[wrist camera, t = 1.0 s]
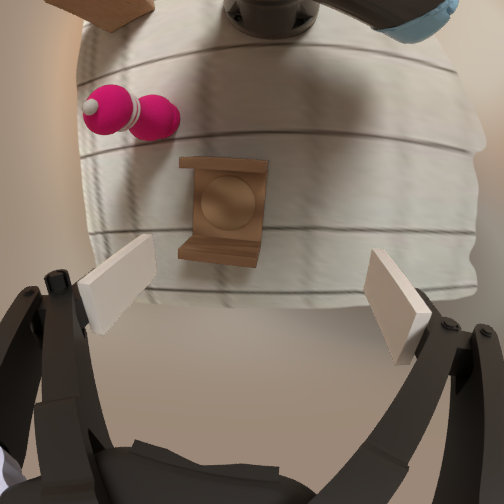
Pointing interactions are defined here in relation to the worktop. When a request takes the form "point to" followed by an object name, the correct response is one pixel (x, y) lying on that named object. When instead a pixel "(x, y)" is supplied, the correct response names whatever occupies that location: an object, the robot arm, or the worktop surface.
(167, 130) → the pepper mill
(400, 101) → the worktop surface
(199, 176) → the holder
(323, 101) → the worktop surface
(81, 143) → the worktop surface
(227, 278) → the worktop surface
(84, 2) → the wooden block
